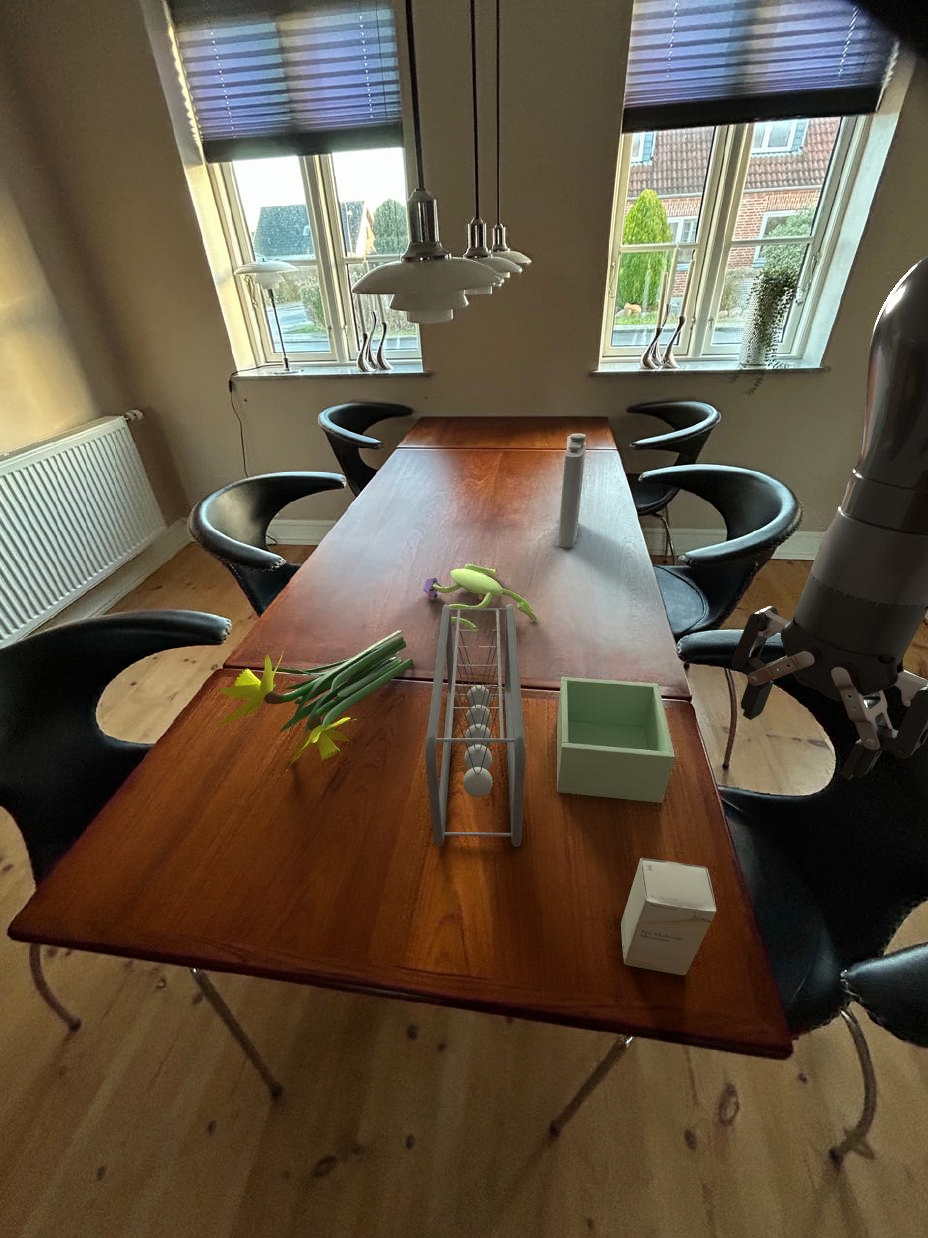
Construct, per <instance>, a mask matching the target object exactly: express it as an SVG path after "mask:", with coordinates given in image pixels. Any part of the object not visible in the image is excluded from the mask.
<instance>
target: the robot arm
mask: <svg viewBox="0 0 928 1238" xmlns="http://www.w3.org/2000/svg"><path fill="white" fill-rule="evenodd" d="M865 389H866V390H865V402H864V409H863V420H862V421H863V422H862V436H861V438H862V439H861V447H860V453H859V456H858V458H857V460H856V463H855V464H854V468H853V470H852V472H851V475H850V478H849V480H848V482H847V485H846V488H845V490H844V493H843V496H842V498H841V501H840V503H839V507H838V508H837V511H836V513H835V515H834V517H833V519H832V521H831V522H830V523H829V526H827V529H826V531H825V533H824V535H823V538H822V540H821V542H820V545H819V548H818V550H817V553H816V555H815V558H814V560H813V563H812V566H811V568H810V571H809V574H808V577H807V578H806V581H805V584H804V586H803V589H802V592H801V595H800V597H799V600H798V602H797V605H796V608H795V610H794V613H793V617H792V619H791V620H788V619H786V618H784V617H782V616H780V615H779V611H778V609H777V608H776V607H774V606H771V605H770V606H766V607H764V608H761V609H760V610H758V611H755V612H753V613H751V614H750V615H749V616H748V619H747V621H746V624H745V626H744V628H743V631H742V633H741V636H740V639H739V641H738V643H737V645H736V648H735V650H734V653H733V655H732V658H731V661H730V664H731V666H732V668H733V669H735V670H737V671H741V672H743V673H744V675H745V676H746V679H747V684H746V686H745V689H744V691H743V695H742V697H741V700H740V708H741V709H742V710H743V713H742V716H743V717H745V718H746V719H747V720H749V721H752V720H754V719H755V718H757V717H758V716H760V715H761V714H762V713H763V712H764V708H765V707H766V704H767V702H768V699H769V697H770V694H771V691H772V688H773V685H774V683H775V681H774V680H777V679H779V678H782V677H784V676H787V675H790V674H792V675H794V677H795V678H796V679H797V681H796V682H797V683H798V684H800V685H802V686H804V687H807V688H810V689H813V690H817V691H818V692H819V693H820V694H822V695H823V696H824V697H826V698H828V699H829V700H832V701H834V702H835V703H837V702H838V701H840V702H841V701H842V702H843V705H844V708H845V710H846V714H847V717H848V719H849V720H850V722H853V723H854V725H855V727H856V730H857V733H858V736H859V740H857V741H856V742H855V743H854V745H853V747H852V749H851V751H850V753H849V755H848V757H847V759H846V761H845V763H844V764H843V766H842V768H841V770H840V772H839V775H840V776H841V777H843V778H845V779H846V780H848V781H850V780H851V779H853V777H855V778H857V779H861V778H863V777H864V776H866V775H867V774H868V773H869V772H870V771H871V770H872V769H874V767H875V765H876V763H877V761H878V759H879V757H880V756H881V754H882V752H883V751H884V752H888V753H889V752H890V753H892V754H893V755H894V756H895V757H896V758H899V759H902V760H906V759H909V758H910V757H911V756H912V755H913V754H914V752H915V751H917V749H919V748H921V747H922V746H923V745H924V744H925V742H926V741H927V738H928V680H927V679H925V678H923V677H920V676H917V675H915V674H912V673H909V672H907V671H905V668H904V657H905V655H906V653H907V651H908V649H909V647H910V645H911V643H912V641H913V639H914V638H915V635H916V634H917V633H918V629H919V628H920V627H921V625H922V622H923V620H924V619H925V617H926V615H927V613H928V254H927V255H925V256H924V257H923V258H922V259H921V260H919V261H917V263H915V264H914V265H913V266H912V267H911V268H910V269H909V270H908V272H907V273H906V274H905V275H904V276H903V277H902V278H901V279H900V280H899V282H898V283H897V284H896V285H895V287H894V288H893V290H892V291H891V292H890V294H889V295H888V297H887V299H886V301H885V302H884V304H883V306H882V308H881V310H880V312H879V315H878V316H877V319H876V322H875V324H874V328H873V332H872V336H871V340H870V344H869V352H868V362H867V374H866V388H865ZM777 634H780V640H781V643H782V646H783V649H784V653H785V656H783V657H780V658H778V659H776V660H774V661H771V662H769V663H764V662H763V661H762V660H761V659H760V657H761V655H762V652H763V650H764V648H765V646H766V644H767V641H768V639H770V638H772V637H774V636H775V635H776V636H777ZM892 687H896V688H898V689H899V691H900V693H901V697H900V699H901V702H902V704H903V706H905V707H907V708H908V709H907V711H906V713H905V715H904V718H903V720H902V721H901V725H900V727H899V729H894V728H893V725H892V722H891V720H890V718H889V715H888V711H887V709H888V702H887V699H886V696H885V693H884V690H887V689H890V688H892Z"/></svg>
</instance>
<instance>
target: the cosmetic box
mask: <svg viewBox="0 0 928 1238" xmlns="http://www.w3.org/2000/svg"><path fill="white" fill-rule="evenodd" d="M627 899H628V900H627V902H626V905H625V908H624V912H623V914H622V919H621V922H620V927H621V928H620V929H621V930H620V931H621V945H622V947H621V948H622V957H623V964H624V965H625V966H629V967H633V968H634V967H635V968H639V969H645V970H650V971H657V972H662V973H668V974H673V975H679V976H686V975H687V974H688V972H689V969H690V967H691V965H692V963H693V962H694V959H695V956H696V955H697V953H698V951H699V949H700V946H701V944H702V942H703V941H704V938H705V936H706V934H707V932H708V930H709V928H710V927H711V923H712V921H713V919H714V918H715V916H716V914H717V907H716V901H715V895H714V891H713V886H712V881H711V877H710V872H709V869H708V868H707V867H706V866H703V865H702V866H701V865H695V864H689V863H682V862H677V861H676V862H675V861H668V860H660V859H653V858H644V857H641V858H640V859H639V862H638V866H637V869H636V872H635V876H634V879H633V882H632V886H631V889H630V892H629V895H628V898H627Z"/></svg>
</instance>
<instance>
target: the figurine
mask: <svg viewBox="0 0 928 1238" xmlns="http://www.w3.org/2000/svg"><path fill="white" fill-rule="evenodd" d="M498 572H499V571H498V568H495V569H492V568H487V567H483V566H479V565H475V564H471V563H466V564H465V565H464V568H454V569H452V570H451V571H450V577H451V579H452V580H453V581H454V582H455V584H453V585H452V584H451V585H450V586H446V587H442V586H441V584H440V583H439V581H438V579H437V578H436V577H433V578H428V579H426V580H425V584H424V587H423V592H424V593H425V594H426V596H427V597H429V598H430V600H435V599H437V598H438V596H439V594H438V592H439V593H444V594H446V593H448V594H449V593H452V592H454V591H456V590H458V589H462V588H463V589H464V590H466V593H468V592H471V593H474V594H476V597H477V599H478V600H480V601H481V600H482V601H481V603H479V604H476V605H466V604H463V603H462V604H461V603H453V604H448V605H449V606H450V608H451V609H486V608H487V606H488V605H489V603H490V601H491V600H492V597H493V598H494V597H500V596H502V595H504V596H506V597H507V596H508V597H510V598H511V599H514V600H515V601H516V602H518V603H517V605H516V608H517V610H518V611H519V612H520V613H523V614H524V615H525V616H528V618H529V619H530V621H533V622H534V621H536V620H537V616H536V615H535V614H534V613H533V612H532V611H533V608H532V606H531V604H530V603H529V602H528V601H527V600H526V599H525V598H523V597H522V596H520V595H519V594H518V593H515V592H514V591H512V590H509V589H506V588H502V586H501V585H500V583H498V582H497V581H496V580H495V579H493V578H492V577H490V576H489V575H497V573H498ZM483 596H484V597H483ZM483 598H484V599H483ZM468 612H469V613H470V612H471V613H475V612H477V611H468ZM451 620H452V624H456V625H457V616H456V617H455V616H451ZM459 625H461V626H463V627H466V628H467V630H469V631H470V632H472V633H476V632H477V631H478V627H477V626H476V625H475V624H474V623H473V622H471V621H469V620H468V619H466V618H462V617H460V623H459Z"/></svg>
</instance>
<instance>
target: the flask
mask: <svg viewBox="0 0 928 1238" xmlns="http://www.w3.org/2000/svg"><path fill="white" fill-rule="evenodd" d="M586 438H587V435H586V434H585V433H571V434H570V435H568V436H567V439H566V440H567V441H566V451H565V453H564V458H563V470H562V482H561V495H560V506H559V508H560V509H559V519H558V531H557V544H556V545H557V546H558V547H560V548H571V547H573V546H574V544H575V542H576V540H577V535H578V527H579V520H580V519H579V518H580V508H581V498H582V488H583V480H584V470H585V468H584V467H585V460H586V450H587V442H586Z"/></svg>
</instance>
